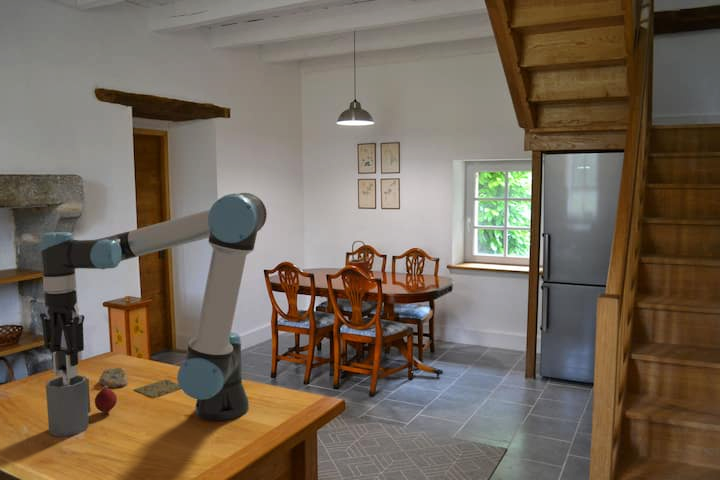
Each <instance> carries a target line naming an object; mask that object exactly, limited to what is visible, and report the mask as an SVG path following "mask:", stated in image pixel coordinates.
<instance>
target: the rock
mask: <svg viewBox="0 0 720 480" xmlns="http://www.w3.org/2000/svg"><path fill="white" fill-rule="evenodd" d="M127 381H128V380H127V378H126V371H125V370H124V369H123V368H122V367H120V368H119V367H117V368H116V367H115V368H108V369H105V370H103V371H102V374H101V376H100V377H99V379H98V382H99V384H100V385H101V386H108V387H111V388H117V387H123V386H126V385H128V384H129V383H128V382H127Z"/></svg>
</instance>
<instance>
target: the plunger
mask: <svg viewBox="0 0 720 480" xmlns="http://www.w3.org/2000/svg"><path fill="white" fill-rule="evenodd" d="M66 353H68V350H67V346H65V347H63V348H60V349H57V350H56V361H57V369H58V370H62V376H63V386H70V379H67V367H66Z"/></svg>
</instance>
